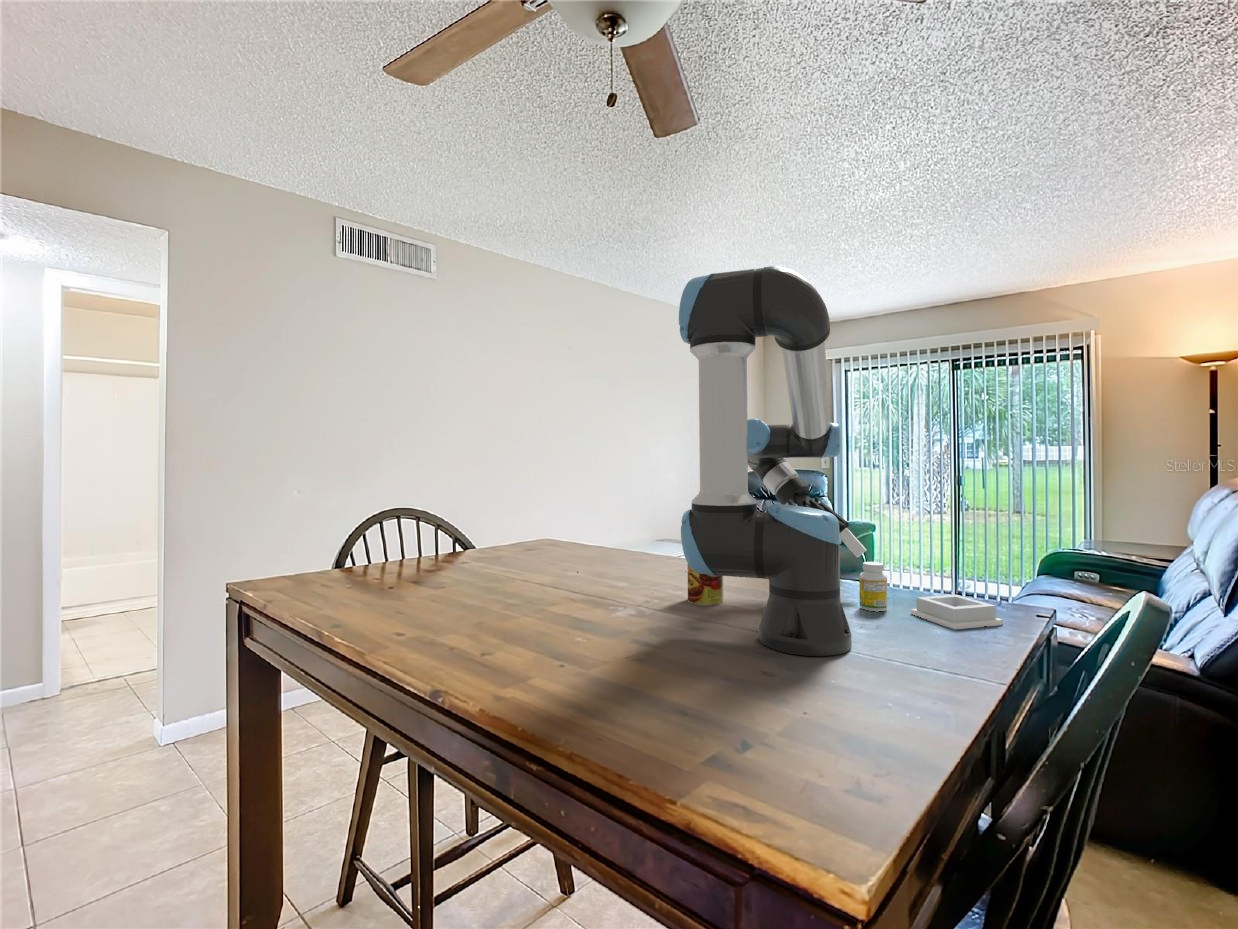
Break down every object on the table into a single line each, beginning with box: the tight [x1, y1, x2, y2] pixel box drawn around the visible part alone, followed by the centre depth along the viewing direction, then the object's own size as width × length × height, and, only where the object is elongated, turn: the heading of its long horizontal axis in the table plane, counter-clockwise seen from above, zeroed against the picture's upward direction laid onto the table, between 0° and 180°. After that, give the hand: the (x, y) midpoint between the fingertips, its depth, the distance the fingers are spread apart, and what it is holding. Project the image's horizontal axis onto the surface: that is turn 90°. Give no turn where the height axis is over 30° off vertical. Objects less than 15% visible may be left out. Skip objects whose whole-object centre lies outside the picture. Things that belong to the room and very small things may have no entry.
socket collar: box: [910, 594, 1004, 630], centre depth 113 cm, size 11×11×4 cm
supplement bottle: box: [859, 561, 888, 613], centre depth 122 cm, size 5×5×10 cm
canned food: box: [687, 564, 724, 606], centre depth 130 cm, size 8×8×12 cm
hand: (849, 557), depth 127 cm, fingers open, 13 cm apart
